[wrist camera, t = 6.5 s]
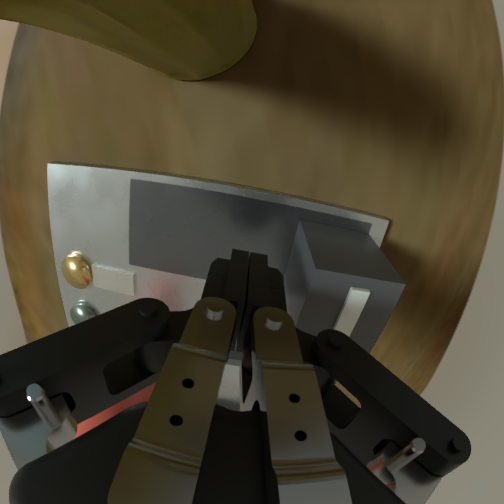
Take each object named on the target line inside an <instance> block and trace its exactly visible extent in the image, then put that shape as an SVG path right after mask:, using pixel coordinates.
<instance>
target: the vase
mask: <svg viewBox="0 0 504 504" xmlns="http://www.w3.org/2000/svg"><path fill="white" fill-rule="evenodd" d="M0 19H2V20H8V21H14V22H19V23H24V24H28V25H32V26H36V27H40V28H43V29H47V30H51V31H55V32H58V33H62V34H65V35H68V36H71V37H74V38H77V39H81V40H84V41H88V42H90V43H93V44H95V45H98V46H100V47H102V48H105V49H107V50H110V51H113V52H115V53H117V54H120V55H122V56H124V57H126V58H129V59H131V60H133V61H135V62H138V63H141V64H143V65H145V66H147V67H149V68H152V69H153V70H155V71H156V72H158V73H159V74H161V75H163V76H166V77H168V78H172V79H177V80H201V79H205V78H208V77H211V76H214V75H216V74H218V73H221V72H223V71H225V70H227V69H228V68H230V67H231V66H233V65H234V64H235V63H237V62H238V61H239V60H240V59H241V58H242V57H243V56H244V55H245V54H246V52H247V51H248V50H249V48H250V46H251V45H252V43H253V40H254V37H255V34H256V30H257V16H256V13H255V10H254V7H253V4H252V0H0Z"/></svg>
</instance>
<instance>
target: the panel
mask: <svg viewBox="0 0 504 504" xmlns="http://www.w3.org/2000/svg"><path fill="white" fill-rule="evenodd" d="M48 199H49V213H50V225H51V234H52V243H53V250H54V257H55V264H56V270H57V275H58V281H59V286H60V291H61V296H62V300H63V305H64V309H65V313H66V317H67V321H68V325H69V327H71V326H73V325H75V324H78V323H80V322H83V321H85V320H88V319H90V318H93V317H95V316H97V315H100V314H102V313H105V312H107V311H110V310H112V309H115V308H117V307H120V306H122V305H124V304H127V303H129V302H132V301H134V300H137V299H140V298H155V299H158V300H161V301H162V302H164V303H165V304H166V305H167V306H168V307H169V310H170V311H185V310H189V309H191V308H194V305H195V304H196V302H197V301H199V300H200V299H201V296H202V293H203V289H204V286H205V282H206V279H207V275H208V272H209V269H210V265H211V263H212V262H213V261H214V260H215V259H217V258H223V259H229V260H230V259H231V254H232V248H233V249H238V250H243V251H249V255H250V252H254V253H260V254H265V255H268V267H272V268H278V270H279V271H280V272H281V274H282V275H283V278H284V275H285V271H286V268H287V264H288V260H289V257H290V253H291V250H292V246H293V242H294V239H295V235H296V231H297V227H298V224H299V220H305V221H310V222H315V223H320V224H324V225H329V226H334V227H338V228H343V229H347V230H352V231H356V232H360V233H365V234H369V235H370V236H371V237H372V239H373V240H374V241H375V243H376V244H377V245H378V247H379V248H380V245H381V243H382V240H383V237H384V235H385V232H386V229H387V226H388V223H389V220H388V219H387V218H386V217H383V216H379V215H375V214H371V213H368V212H364V211H360V210H356V209H352V208H348V207H344V206H339V205H335V204H331V203H327V202H322V201H318V200H313V199H309V198H304V197H300V196H295V195H290V194H285V193H281V192H276V191H271V190H266V189H260V188H255V187H250V186H244V185H239V184H233V183H228V182H222V181H216V180H210V179H204V178H197V177H191V176H184V175H177V174H170V173H163V172H156V171H148V170H140V169H132V168H123V167H113V166H104V165H93V164H82V163H69V162H55V161H53V162H50V163H48ZM236 344H237V340H236ZM241 360H242V352H237V351H236V345H235V349H234V351H231V350H230V354H229V359H228V361H227V363H226V364H225V369H224V373H223V377H222V382H221V386H220V390H219V395H218V399H217V403H216V404H217V405H219V406H222V407H225V408H227V409H230V410H233V411H238V412H239V411H240V386H239V367H240V363H241Z"/></svg>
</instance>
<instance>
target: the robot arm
mask: <svg viewBox="0 0 504 504" xmlns="http://www.w3.org/2000/svg"><path fill="white" fill-rule="evenodd" d="M236 340H237V344H236ZM235 345H236V351H237V352H242V360H241V363H240V367H239V386H240V411H239V412H238V411H233V410H230V409H227V408H225V407H222V406H219V405H217V404H216V403H217V399H218V395H219V390H220V386H221V382H222V377H223V373H224V369H225V364H226V363H227V361H228V359H229V354H230V350H231V351H234V349H235ZM156 381H157V382H156ZM336 381H338V382H339V383H340V384H341V385H342V386H343V387H345V388H346V389H347V390H348V391H349V392H350V393H351V394H352V395H353V396H354V397H356V398H357V399H358V400H359V402H360V404H361V408H359V407H358V406H357V405H356V404H355V403H354V402H353V401H351V400H350V399H349V398H348V397H347V396H346V395H345V394H344V393H343V392H342V391H341V390H339V389H338V388H337V387H336V386H335V385H334V384H335V383H336ZM155 382H156V384H155V386H154V389H153V391H152V394H151V396H150V398H149V401H147V402H142V403H139V404H136V405H133V406H131V407H129V408H127V409H125V410H123V411H121V412H120V413H118V414H116V415H115V416H113V417H111V418H110V419H108V420H106V421H105V422H103V423H101V424H100V425H98V426H96V427H94V428H93V429H91V430H89V431H87V432H86V433H84V434H82V435H80V436H78V437H77V438H75V439H74V437H75V436H76V433H77V424H79V423H81V422H83V421H85V420H87V419H89V418H91V417H93V416H95V415H97V414H99V413H100V412H102V411H104V410H106V409H108V408H110V407H112V406H114V405H115V404H117V403H119V402H121V401H123V400H125V399H126V398H128V397H130V396H132V395H134V394H135V393H137V392H139V391H141V390H143V389H144V388H146V387H148V386H150V385H151V384H153V383H155ZM0 431H1V433H2V436H3V438H4V440H5V443H6V445H7V447H8V450H9V452H10V454H11V457H12V459H13V461H14V463H15V465H16V467H17V469H18V471H17V473H16V474H15V476H14V477H13V480H12V482H11V485H10V489H9V502H10V504H425V503H426V501H427V500H428V499H429V497H430V496H431V494H432V493H433V491H434V490H435V488H436V486H437V485H438V483H439V482H440V480H441V478H442V477H443V476H445V475H446V474H448V473H450V472H451V471H453V470H454V469H455V468H457V467H458V466H460V465H461V464H463V463H464V462H466V461H467V459H468V458H469V456H470V454H471V445H470V441H469V439H468V437H467V436H466V434H465V433H464V432H463V431H461V430H460V429H459V428H458V427H457V426H455V425H454V424H453V423H452V422H451V421H449V420H448V419H447V418H446V417H445V416H443V415H442V414H441V413H440V412H439V411H437V410H436V409H435V408H433V407H432V406H431V405H430V404H429V403H428V402H427V401H425V400H424V399H423V398H422V397H421V396H419V395H418V394H417V393H416V392H415V391H413V390H412V389H411V388H410V387H409V386H407V385H406V384H405V383H404V382H402V381H401V380H400V379H399V378H398V377H396V376H395V375H394V374H393V373H392V372H390V371H389V370H388V369H387V368H386V367H385V366H383V365H382V364H381V363H380V362H379V361H377V360H376V359H375V358H374V357H373V356H371V355H370V354H369V353H368V352H367V351H365V350H364V349H363V348H362V347H361V346H359V345H358V344H357V343H356V342H355V341H353V340H352V339H351V338H350V337H349V336H347V335H346V334H344V333H343V332H340V331H338V330H333V329H326V330H323V331H321V332H319V333H318V335H317V336H314V335H311V334H308V333H306V332H303V331H301V330H299V329H298V328H296V327H295V324H294V321H293V319H292V317H291V316H290V315H289V314H288V313H287V305H286V296H285V287H284V278H283V275H282V274H281V272H280V271H279V270H278V268H272V267H268V255H265V254H260V253H254V252H250V255H249V251H243V250H238V249H233V248H232V254H231V259H230V260H229V259H223V258H217V259H215V260H214V261H213V262H212V263H211V265H210V269H209V272H208V275H207V279H206V282H205V286H204V289H203V293H202V296H201V299H200V300H199V301H197V302H196V304H195V305H194V308H191V309H189V310H185V311H170V310H169V307H168V306H167V305H166V304H165V303H164V302H162V301H161V300H158V299H155V298H140V299H137V300H134V301H132V302H129V303H127V304H124V305H122V306H120V307H117V308H115V309H112V310H110V311H107V312H105V313H102V314H100V315H97V316H95V317H93V318H90V319H88V320H85V321H83V322H80V323H78V324H75V325H73V326H71V327H68V328H66V329H63V330H61V331H58V332H56V333H53V334H51V335H48V336H46V337H44V338H41V339H39V340H36V341H34V342H31V343H29V344H26V345H24V346H21V347H19V348H17V349H14V350H12V351H9V352H7V353H4V354H2V355H0Z"/></svg>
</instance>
